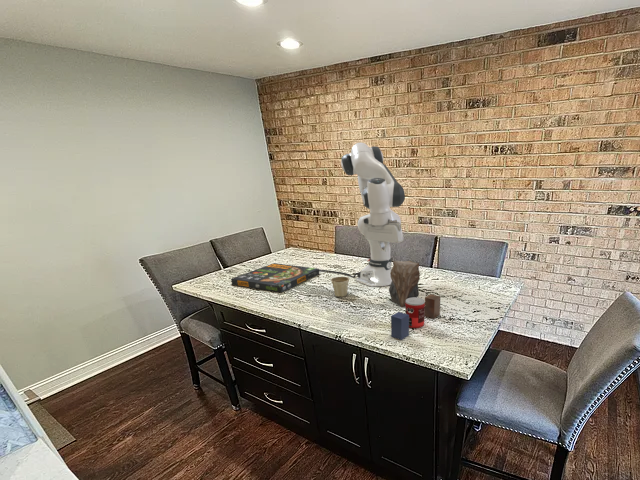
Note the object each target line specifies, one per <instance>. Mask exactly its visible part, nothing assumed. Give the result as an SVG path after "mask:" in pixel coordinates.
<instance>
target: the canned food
mask: <svg viewBox="0 0 640 480" xmlns="http://www.w3.org/2000/svg"><path fill="white" fill-rule="evenodd" d="M404 308H405V310H404V311H405V312H404V313H405V314H408V315H409V329H410V328H411V329H421V328H422V327H423V326H424V325H425V298H422V297H412V298H408V299H406V302H405V307H404Z"/></svg>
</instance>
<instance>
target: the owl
mask: <svg viewBox="0 0 640 480" xmlns="http://www.w3.org/2000/svg"><path fill="white" fill-rule="evenodd" d="M392 264H393V265H392V266H391V273H390V274H391V276H390V277H391V279H392V282H391V285H389V287H388V292H389V297H390V301H391V302H392V303H394V304H395V305H397V306H398V307H400V308H405V302H406V299H408V298H412V297H417V298H419V295H420V292H419V281H420V279H421V277H420V276H421V271H420V269H419V268H420V262H415V261H412V260H406V261H405V260H402V261H400V260H393V261H392Z"/></svg>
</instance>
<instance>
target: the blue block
mask: <svg viewBox="0 0 640 480" xmlns="http://www.w3.org/2000/svg"><path fill="white" fill-rule="evenodd" d="M390 328H391V329H390V334H391V335H390V336H391V338H395V339H397V340H400V341H402V340H405V338H407V337H409V336H410V327H409V315H408V314H405V312H401V311H397V312H395V313H394V314H392V315H391V316H390Z"/></svg>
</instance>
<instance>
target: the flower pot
mask: <svg viewBox="0 0 640 480" xmlns="http://www.w3.org/2000/svg"><path fill="white" fill-rule="evenodd" d="M349 281H350V278H349V276H334V277H332V278H330V282H331V284H332V287H333V292H334V296H335V297H336V298H337V297H342V298H343V297H347V295H348V289H349V288H348V287H349Z"/></svg>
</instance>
